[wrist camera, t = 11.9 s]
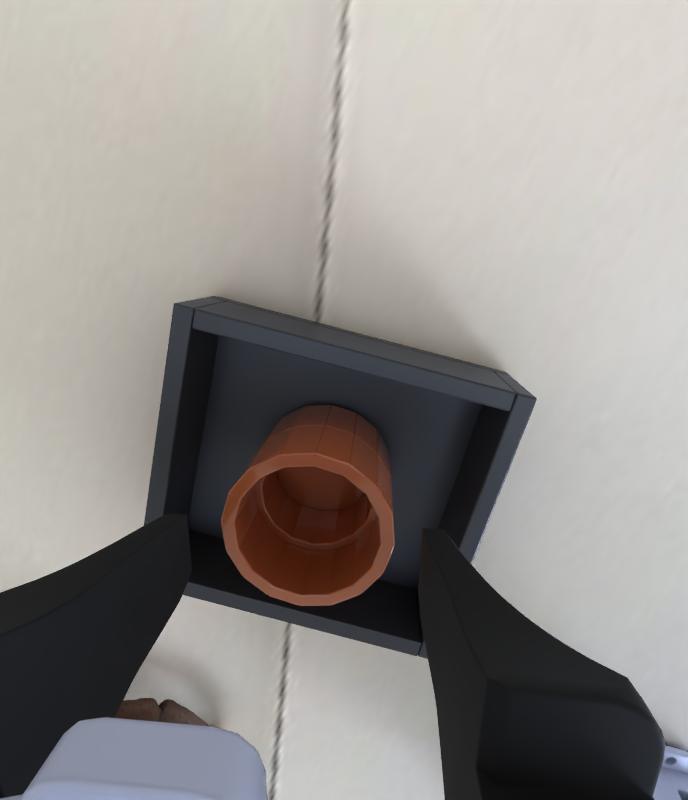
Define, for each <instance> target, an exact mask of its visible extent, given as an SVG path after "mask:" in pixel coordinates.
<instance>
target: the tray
mask: <svg viewBox="0 0 688 800" xmlns="http://www.w3.org/2000/svg"><path fill="white" fill-rule="evenodd" d="M535 402H536V398H535V397H534V396H533V395H532V394H531V393H530V392H528V391H527V390H526V389H525V388H524V387H523V386H521V385H520V384H519V383H518V382H517V381H515V380H514V379H513V378H512V377H511V376H510V375H509V374H507V373H506V372H503V371H499V370H495V369H491V368H487V367H484V366H480V365H476V364H472V363H468V362H465V361H461V360H457V359H453V358H449V357H445V356H442V355H438V354H434V353H430V352H426V351H423V350H419V349H415V348H411V347H407V346H403V345H400V344H396V343H392V342H388V341H384V340H381V339H377V338H373V337H369V336H365V335H361V334H358V333H354V332H350V331H346V330H342V329H339V328H335V327H331V326H327V325H323V324H319V323H316V322H312V321H308V320H304V319H300V318H297V317H293V316H289V315H285V314H281V313H278V312H274V311H270V310H266V309H262V308H258V307H255V306H251V305H247V304H243V303H239V302H236V301H232V300H228V299H224V298H220V297H216V296H212V297H206V298H201V299H196V300H190V301H185V302H180V303H175V304H174V308H173V315H172V323H171V330H170V337H169V345H168V352H167V359H166V367H165V374H164V382H163V389H162V396H161V404H160V411H159V419H158V426H157V433H156V441H155V448H154V456H153V463H152V470H151V478H150V485H149V493H148V500H147V507H146V515H145V522H144V526H145V525H146V524H148V523H150V522H152V521H154V520H156V519H157V518H159V517H161V516H163V515H166V514H168V513H170V514H187V519H188V530H189V541H190V552H191V563H192V573H191V576H190V578H189V580H188V583H187V585H186V588H185V590H184V592H183V594H182V595H186V596H190V597H194V598H197V599H201V600H205V601H209V602H213V603H216V604H220V605H224V606H228V607H232V608H236V609H239V610H243V611H247V612H251V613H255V614H258V615H262V616H266V617H270V618H274V619H277V620H281V621H285V622H289V623H293V624H296V625H300V626H304V627H308V628H312V629H315V630H319V631H323V632H327V633H331V634H335V635H338V636H342V637H346V638H350V639H354V640H357V641H361V642H365V643H369V644H373V645H376V646H380V647H384V648H388V649H392V650H395V651H399V652H403V653H407V654H411V655H414V656H417V655H418V656H419V657H423V658H427V659H428V656H427V650H426V645H425V640H424V634H423V629H422V624H421V618H420V605H419V589H418V584H419V571H420V558H421V545H422V532H423V528H431V529H444V530H445V531H446V533H447V534H448V535H449V537H450V538H451V539H452V541H453V542H454V543H455V545H456V546H457V547H458V549H459V550H460V551H461V552H462V554H463V555H464V556H465V557H466V559H467V560H468V561H469V562H470V563H471V564H472V562H473V559H474V557H475V554H476V552H477V549H478V547H479V544H480V542H481V539H482V536H483V534H484V531H485V529H486V526H487V524H488V521H489V519H490V516H491V514H492V511H493V509H494V506H495V504H496V501H497V498H498V496H499V493H500V491H501V488H502V486H503V483H504V481H505V478H506V476H507V473H508V471H509V468H510V466H511V463H512V460H513V458H514V455H515V453H516V450H517V448H518V445H519V443H520V440H521V438H522V435H523V433H524V430H525V428H526V425H527V422H528V420H529V417H530V415H531V412H532V410H533V407H534V405H535ZM316 405H334V406H337V407H340V408H343V409H346V410H349V411H352V412H355V413H357V414H359V415H360V416H362V417H363V418H364V419H365V420H366V421H368V422H369V423H370V424H371V425H372V426H373V427H375V428H376V429H377V431H379V433H380V435H381V437H382V439H383V441H384V442H385V444H386V446H387V448H388V450H389V454H390V465H391V483H392V501H393V520H394V539H395V545H394V549H393V551H392V554H391V556H390V559H389V561H388V563H387V566H386V568H385V571H384V573H383V574H382V575H381V576H380V577H379V578H378V579H377V580H376V581H375V582H374V583H372V584H371V585H370V586H369V587H368V588H367V589H366V590H365V591H364V592H363V593H360V595H358V596H355V597H352V598H350V599H347V600H344V601H342V602H339V603H336V604H334V605H332V604H331V605H321V606H300V605H295V604H292V603H289V602H286V601H283V600H280V599H277V598H274V597H271V596H269V595H267V594H265V593H264V592H263V591H261V590H260V589H259V588H257V587H256V586H255V585H253V584H252V583H251V582H249V581H248V580H247V579H245V578H244V577H243V576H242V575H241V573H240V572H239V570H238V569H237V567H236V566H235V564H234V562H233V561H232V559H231V558H230V556H229V555H228V553H227V550H226V548H225V542H224V537H223V531H222V525H221V517H222V514H223V510H224V507H225V503H226V499H227V496H228V493H229V491H230V489H231V488H232V486H233V485H234V483H235V482H236V480H237V479H238V477H239V476H240V474H241V473H242V471H243V470H244V468H245V467H246V465H247V464H248V462H249V461H250V459H251V458H252V456H253V455H254V453H255V452H256V450H257V449H258V447H259V446H260V444H261V443H262V441H263V440H264V438H265V437H266V435H267V434H268V433H269V432H270V430H271V429H272V428H273V427H274V426H275V425H276V423H277V422H278V421H279V420H280V419H281V418H282V417H283V416H285V415H287V414H290V413H292V412H294V411H296V410H298V409H300V408H302V407H306V406H316Z"/></svg>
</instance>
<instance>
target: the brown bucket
mask: <svg viewBox="0 0 688 800" xmlns="http://www.w3.org/2000/svg"><path fill="white" fill-rule="evenodd" d="M221 525H222V531H223V537H224V542H225V548H226V550H227V553H228V555H229V556H230V558H231V559H232V561H233V562H234V564H235V566H236V567H237V569H238V570H239V572H240V573H241V575H242V576H243V577H244V578H245V579H247V580H248V581H249V582H251V583H252V584H253V585H255V586H256V587H257V588H259V589H260V590H261V591H263V592H264V593H265V594H267V595H269V596H271V597H274V598H277V599H280V600H283V601H286V602H289V603H292V604H295V605H300V606H321V605H331V604H332V605H334V604H336V603H339V602H342V601H344V600H347V599H350V598H352V597H355V596H358V595H360V593H363V592H364V591H365V590H366V589H367V588H368V587H369V586H370V585H371V584H372V583H374V582H375V581H376V580H377V579H378V578H379V577H380V576H381V575H382V574H383V573H384V571H385V568H386V566H387V563H388V561H389V559H390V556H391V554H392V551H393V549H394V545H395V539H394V520H393V501H392V483H391V465H390V454H389V450H388V448H387V446H386V444H385V442H384V441H383V439H382V437H381V435H380V433H379V431H377V429H376V428H375V427H373V426H372V425H371V424H370V423H369V422H368V421H366V420H365V419H364V418H363V417H362V416H360V415H359V414H357V413H355V412H352V411H349V410H346V409H343V408H340V407H337V406H334V405H316V406H306V407H302V408H300V409H298V410H296V411H294V412H292V413H290V414H287V415H285V416H283V417H282V418H281V419H280V420H279V421H278V422H277V423H276V425H275V426H274V427H273V428H272V429H271V430H270V432H269V433H268V434H267V435H266V437H265V438H264V440H263V441H262V443H261V444H260V446H259V447H258V449H257V450H256V452H255V453H254V455H253V456H252V458H251V459H250V461H249V462H248V464H247V465H246V467H245V468H244V470H243V471H242V473H241V474H240V476H239V477H238V479H237V480H236V482H235V483H234V485H233V486H232V488H231V489H230V491H229V493H228V496H227V499H226V503H225V507H224V510H223V514H222V517H221Z"/></svg>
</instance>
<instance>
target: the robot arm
mask: <svg viewBox="0 0 688 800" xmlns="http://www.w3.org/2000/svg"><path fill="white" fill-rule="evenodd" d="M191 573H192V563H191V552H190V541H189V530H188V519H187V514H170V513H168V514H166V515H163V516H161V517H159V518H157V519H156V520H154V521H152V522H150V523H148V524H146V525H145V526H143V527H141V528H139V529H138V530H136V531H134V532H132V533H131V534H129V535H127V536H125V537H123V538H122V539H120V540H118V541H116V542H115V543H113V544H111V545H109V546H107V547H105V548H103V549H101V550H99V551H98V552H96V553H94V554H92V555H90V556H88V557H86V558H84V559H82V560H80V561H78V562H76V563H74V564H72V565H70V566H68V567H65V568H63V569H61V570H59V571H56V572H54V573H52V574H49V575H47V576H44V577H42V578H40V579H37V580H34V581H32V582H29V583H26V584H23V585H21V586H18V587H15V588H12V589H9V590H7V591H4V592H1V593H0V800H268V796H267V791H266V770H265V768H264V765H263V763H262V760H261V758H260V755H259V753H258V751H257V749H256V748H255V747H254V746H252V745H251V744H250V743H249V742H247V741H246V740H245V739H244V738H243V737H241V736H240V735H239V734H237V733H234V732H231V731H227V730H224V729H220V728H217V727H210V726H199V725H188V724H177V723H165V722H154V721H143V720H132V719H120V718H115V716H116V714H117V712H118V710H119V708H120V706H121V703H122V701H123V699H124V697H125V695H126V693H127V691H128V689H129V687H130V685H131V683H132V681H133V679H134V677H135V675H136V674H137V672H138V670H139V668H140V666H141V665H142V663H143V661H144V660H145V658H146V656H147V655H148V653H149V652H150V650H151V648H152V647H153V645H154V643H155V642H156V640H157V638H158V637H159V635H160V633H161V632H162V630H163V628H164V627H165V625H166V623H167V622H168V620H169V618H170V617H171V615H172V613H173V612H174V610H175V608H176V606H177V605H178V603H179V601H180V599H181V597H182V594H183V592H184V590H185V588H186V585H187V583H188V580H189V578H190V576H191ZM418 589H419V605H420V618H421V624H422V629H423V634H424V640H425V645H426V650H427V656H428V661H429V666H430V671H431V677H432V682H433V687H434V693H435V699H436V706H437V715H438V726H439V736H440V747H441V759H442V770H443V782H444V794H445V800H688V751H685V750H681V749H677V748H673V747H669V746H666V745H665V741H664V737H663V734H662V730H661V729H660V727H659V725H658V724H657V722H656V720H655V719H654V717H653V715H652V714H651V712H650V710H649V709H648V707H647V706H646V704H645V702H644V701H643V699H642V698H641V696H640V695H639V693H638V692H637V691H636V689H635V688H634V686H633V685H632V684H631V682H630V681H629V679H628V678H627V677H625V676H623V675H621V674H619V673H617V672H615V671H613V670H611V669H609V668H607V667H605V666H603V665H601V664H599V663H597V662H595V661H593V660H591V659H589V658H587V657H586V656H584V655H582V654H581V653H579V652H577V651H575V650H574V649H572V648H570V647H569V646H567V645H565V644H564V643H562V642H561V641H559V640H558V639H556V638H555V637H553V636H551V635H550V634H548V633H547V632H546V631H544V630H543V629H541V628H540V627H539V626H537V625H536V624H535V623H533V622H532V621H530V620H529V619H528V618H526V617H525V616H524V615H523V614H521V613H520V612H519V611H518V610H517V609H515V608H514V607H513V606H512V605H511V604H510V603H508V602H507V601H506V600H505V599H504V598H503V597H502V596H501V595H499V594H498V593H497V592H496V591H495V590H494V589H493V588H492V587H491V586H490V585H489V584H488V583H487V582H486V581H485V579H484V578H483V577H482V576H481V575H480V574H479V573H478V572H477V570H476V569H475V568H474V567H473V566H472V565H471V563H470V562H469V561H468V560H467V559H466V557H465V556H464V555H463V554H462V552H461V551H460V550H459V549H458V547H457V546H456V545H455V543H454V542H453V541H452V539H451V538H450V537H449V535H448V534H447V533H446V531H445V530H444V529H431V528H423V532H422V545H421V558H420V571H419V584H418Z"/></svg>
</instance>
